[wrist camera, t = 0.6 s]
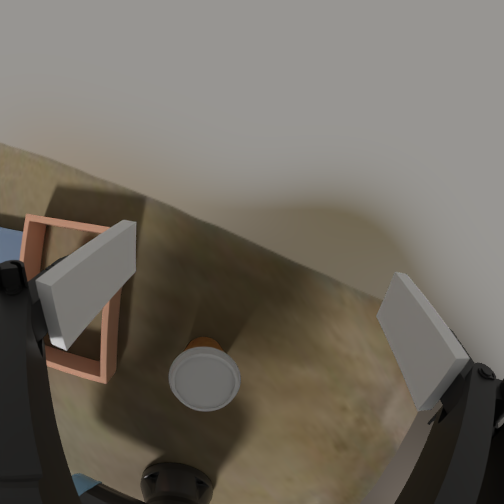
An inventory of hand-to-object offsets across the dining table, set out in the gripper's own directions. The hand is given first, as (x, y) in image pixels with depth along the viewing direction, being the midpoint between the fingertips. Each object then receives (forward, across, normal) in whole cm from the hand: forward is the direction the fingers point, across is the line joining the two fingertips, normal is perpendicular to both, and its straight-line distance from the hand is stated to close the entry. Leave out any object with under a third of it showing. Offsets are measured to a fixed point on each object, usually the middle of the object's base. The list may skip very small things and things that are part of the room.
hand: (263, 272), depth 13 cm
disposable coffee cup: (+22, +5, +28) cm, 36 cm away
